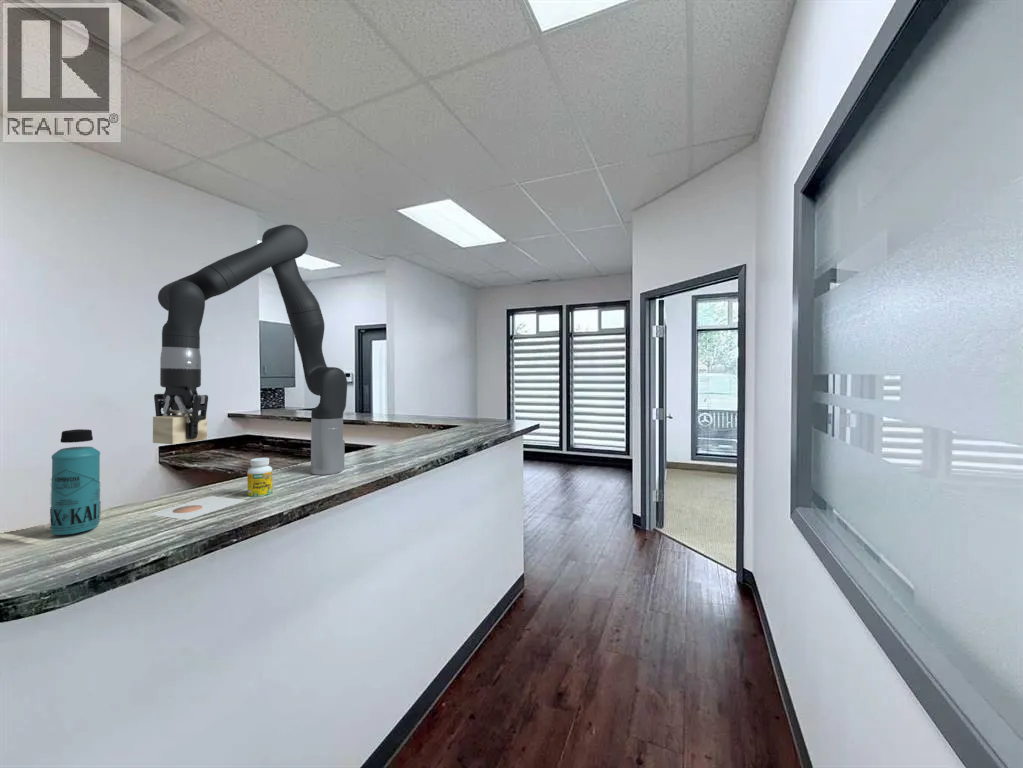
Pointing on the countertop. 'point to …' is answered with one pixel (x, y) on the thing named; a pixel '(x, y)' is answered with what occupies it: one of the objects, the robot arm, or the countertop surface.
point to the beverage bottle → (75, 485)
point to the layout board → (197, 507)
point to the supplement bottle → (259, 478)
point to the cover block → (175, 429)
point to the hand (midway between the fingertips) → (180, 437)
